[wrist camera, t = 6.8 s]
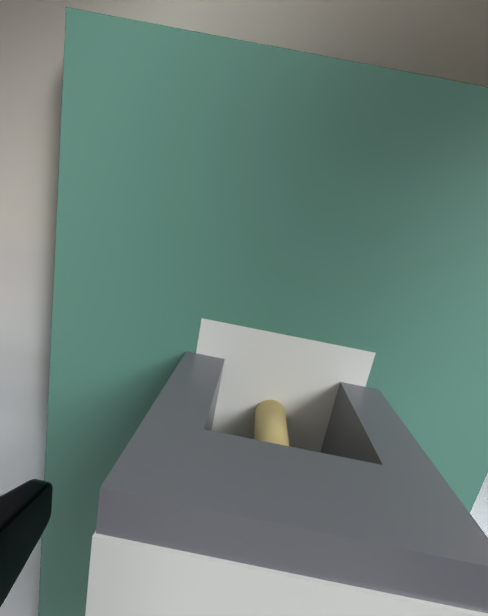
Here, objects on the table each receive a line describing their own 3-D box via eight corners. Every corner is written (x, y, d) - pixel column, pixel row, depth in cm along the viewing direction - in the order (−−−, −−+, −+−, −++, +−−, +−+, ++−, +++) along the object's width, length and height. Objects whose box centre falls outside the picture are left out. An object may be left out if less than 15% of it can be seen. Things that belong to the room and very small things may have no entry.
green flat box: (358, 692, 12) (397, 879, 9) (56, 629, 13) (-26, 788, 9) (586, 134, 8) (872, 48, 4) (95, 40, 8) (-48, -122, 4)
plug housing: (322, 568, 10) (373, 855, 5) (157, 535, 10) (69, 789, 5) (379, 389, 8) (516, 576, 4) (185, 351, 8) (96, 490, 4)
